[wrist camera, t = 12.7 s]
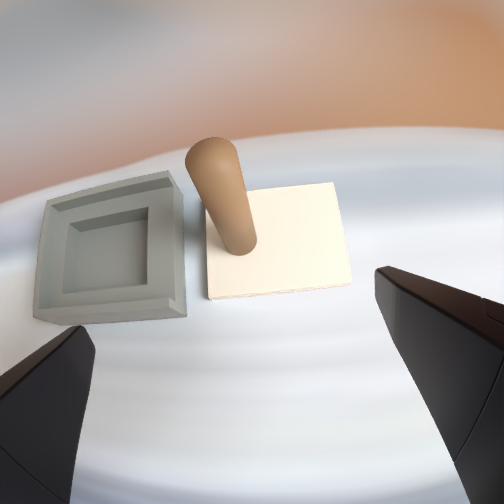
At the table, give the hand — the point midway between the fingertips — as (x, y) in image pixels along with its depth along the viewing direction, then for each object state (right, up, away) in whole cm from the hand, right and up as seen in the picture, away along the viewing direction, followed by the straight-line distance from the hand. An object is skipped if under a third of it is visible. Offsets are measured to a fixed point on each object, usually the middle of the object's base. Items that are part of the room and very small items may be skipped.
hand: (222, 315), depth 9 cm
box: (-10, +1, +16) cm, 19 cm away
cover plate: (+3, +3, +15) cm, 16 cm away
